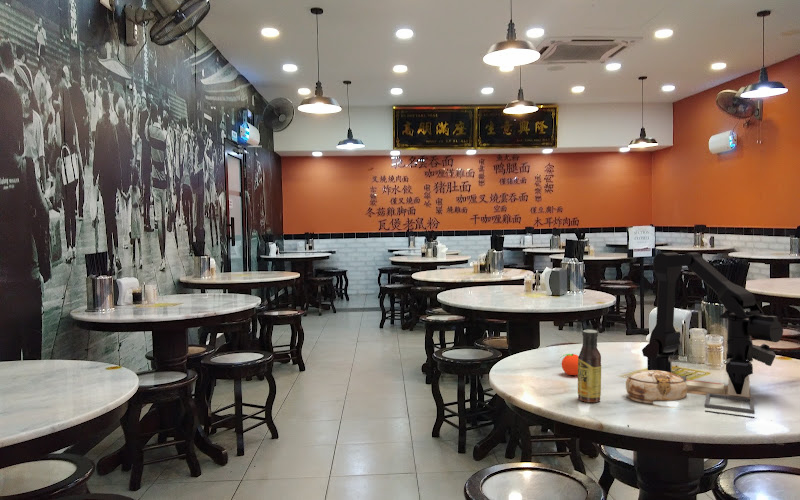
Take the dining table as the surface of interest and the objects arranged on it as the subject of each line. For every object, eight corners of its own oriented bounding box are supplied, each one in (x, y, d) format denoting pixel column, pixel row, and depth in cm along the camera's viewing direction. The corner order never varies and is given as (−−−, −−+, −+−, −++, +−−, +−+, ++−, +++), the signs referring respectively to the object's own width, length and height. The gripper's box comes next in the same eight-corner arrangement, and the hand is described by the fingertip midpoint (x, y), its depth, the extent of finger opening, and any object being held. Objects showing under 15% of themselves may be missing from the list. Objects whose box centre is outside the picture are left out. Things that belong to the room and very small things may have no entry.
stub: (728, 394, 158) (728, 378, 158) (728, 389, 164) (728, 373, 163) (749, 397, 156) (749, 380, 156) (748, 391, 161) (749, 375, 161)
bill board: (676, 395, 162) (676, 383, 162) (680, 384, 173) (680, 373, 173) (750, 404, 153) (751, 392, 153) (749, 392, 164) (749, 380, 163)
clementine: (557, 376, 185) (556, 355, 184) (559, 371, 191) (559, 350, 191) (582, 378, 182) (582, 356, 181) (584, 373, 188) (584, 352, 188)
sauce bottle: (574, 397, 163) (573, 328, 162) (595, 396, 164) (594, 327, 163) (583, 404, 157) (583, 333, 156) (605, 403, 157) (605, 332, 156)
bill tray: (704, 411, 149) (704, 404, 149) (706, 399, 158) (706, 392, 158) (754, 418, 143) (754, 410, 143) (753, 405, 153) (753, 398, 152)
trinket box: (618, 397, 163) (618, 370, 162) (652, 388, 170) (652, 362, 170) (660, 410, 151) (660, 381, 151) (694, 400, 158) (694, 372, 158)
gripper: (775, 345, 147) (775, 404, 148) (771, 332, 163) (771, 385, 164) (725, 341, 153) (725, 398, 153) (726, 329, 169) (726, 381, 169)
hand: (738, 390), depth 160 cm, fingers closed on stub, 6 cm apart
